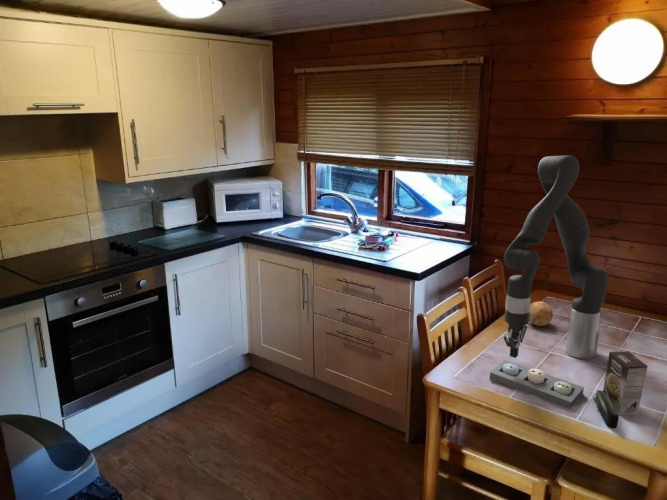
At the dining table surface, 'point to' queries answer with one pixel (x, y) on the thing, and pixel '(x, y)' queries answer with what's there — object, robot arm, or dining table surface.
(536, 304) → the tan round ball
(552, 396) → the button board
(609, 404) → the mobile phone
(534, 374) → the cream button
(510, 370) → the blue button
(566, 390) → the sage button
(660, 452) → the dining table surface
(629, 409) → the coffee box
